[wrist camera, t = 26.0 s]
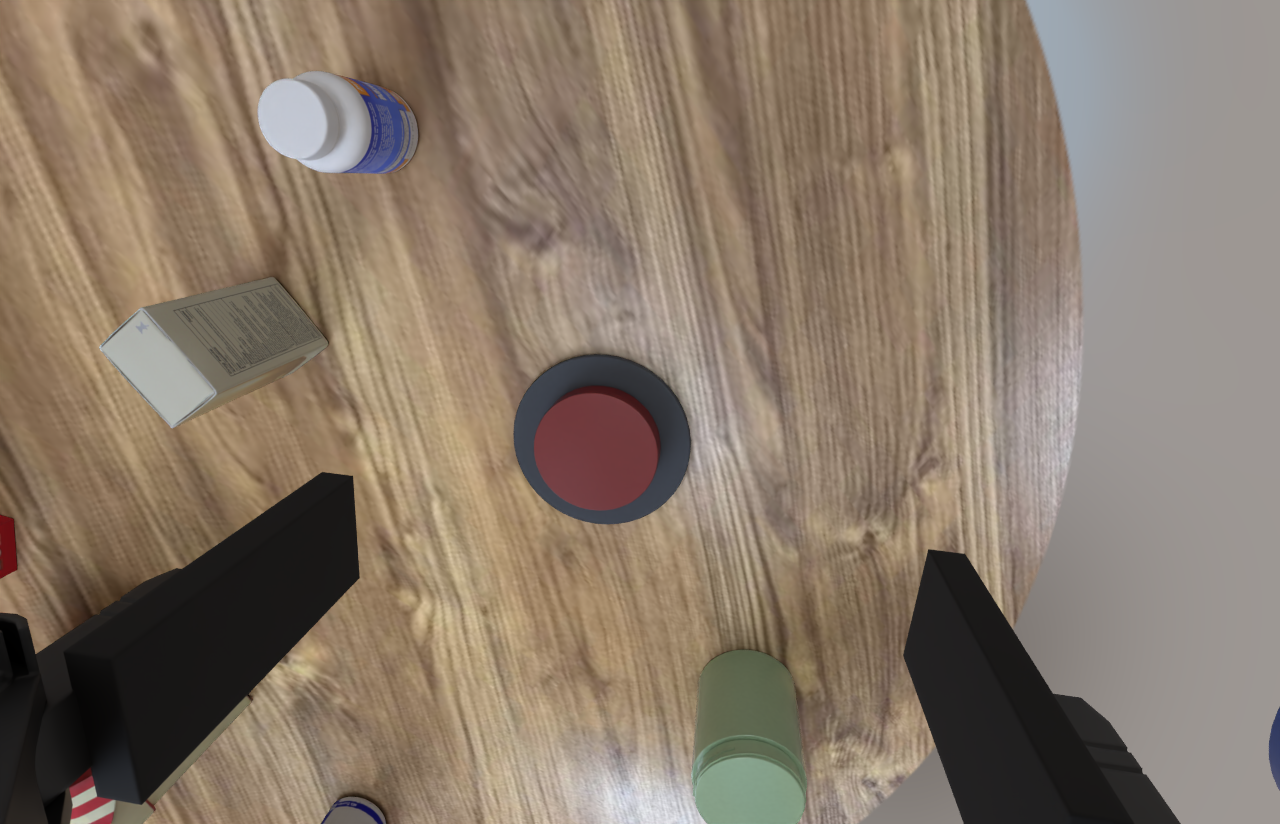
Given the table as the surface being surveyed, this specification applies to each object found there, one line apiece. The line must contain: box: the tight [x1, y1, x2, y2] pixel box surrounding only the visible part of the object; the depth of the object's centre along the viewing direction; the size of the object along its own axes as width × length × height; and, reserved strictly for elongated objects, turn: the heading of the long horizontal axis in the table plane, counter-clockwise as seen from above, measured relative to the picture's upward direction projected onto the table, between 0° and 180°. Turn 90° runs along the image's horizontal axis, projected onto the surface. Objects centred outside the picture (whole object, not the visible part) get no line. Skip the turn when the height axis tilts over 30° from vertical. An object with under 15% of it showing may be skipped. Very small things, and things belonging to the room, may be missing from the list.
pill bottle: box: [258, 71, 418, 174], centre depth 41 cm, size 5×5×10 cm
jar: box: [691, 650, 807, 824], centre depth 50 cm, size 8×8×11 cm
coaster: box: [514, 354, 691, 524], centre depth 50 cm, size 13×13×1 cm
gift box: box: [69, 695, 252, 824], centre depth 55 cm, size 17×18×17 cm
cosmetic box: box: [99, 277, 328, 428], centre depth 45 cm, size 6×4×12 cm
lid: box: [534, 386, 661, 510], centre depth 49 cm, size 9×9×2 cm
